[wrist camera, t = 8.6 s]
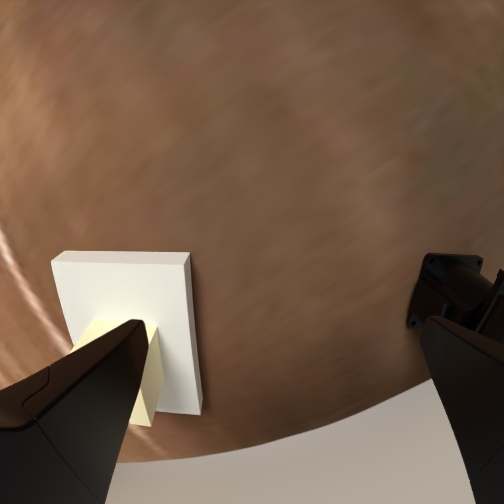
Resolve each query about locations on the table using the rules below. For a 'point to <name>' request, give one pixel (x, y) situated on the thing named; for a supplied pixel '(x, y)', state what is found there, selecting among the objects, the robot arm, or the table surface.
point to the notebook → (138, 309)
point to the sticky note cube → (151, 374)
